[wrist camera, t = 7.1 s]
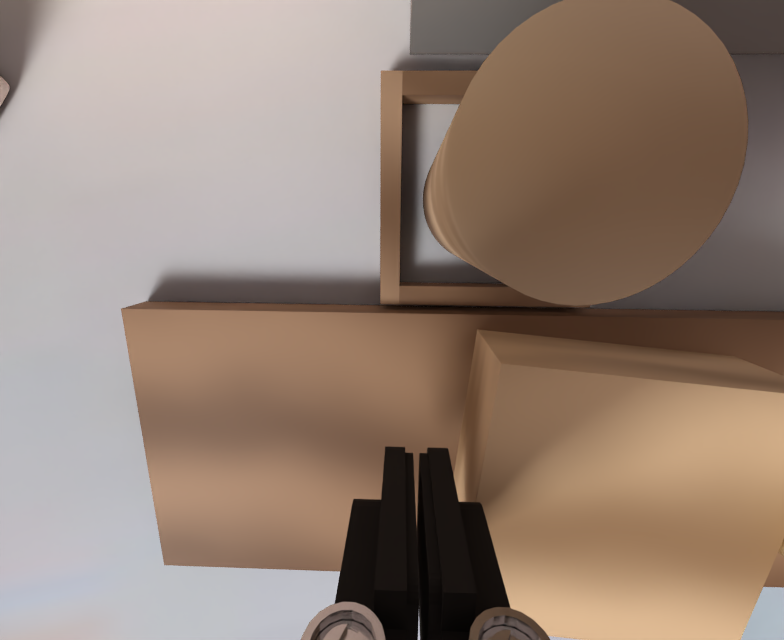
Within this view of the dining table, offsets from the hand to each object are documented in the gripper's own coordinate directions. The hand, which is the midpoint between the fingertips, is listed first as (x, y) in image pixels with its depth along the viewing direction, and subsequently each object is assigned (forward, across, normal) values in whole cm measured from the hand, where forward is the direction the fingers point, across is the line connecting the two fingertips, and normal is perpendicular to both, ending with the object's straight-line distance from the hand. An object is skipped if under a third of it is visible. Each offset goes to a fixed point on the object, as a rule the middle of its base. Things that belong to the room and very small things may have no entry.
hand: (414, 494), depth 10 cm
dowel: (+4, -2, -8) cm, 9 cm away
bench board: (+4, -2, +1) cm, 5 cm away
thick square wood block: (+3, -6, +1) cm, 6 cm away
